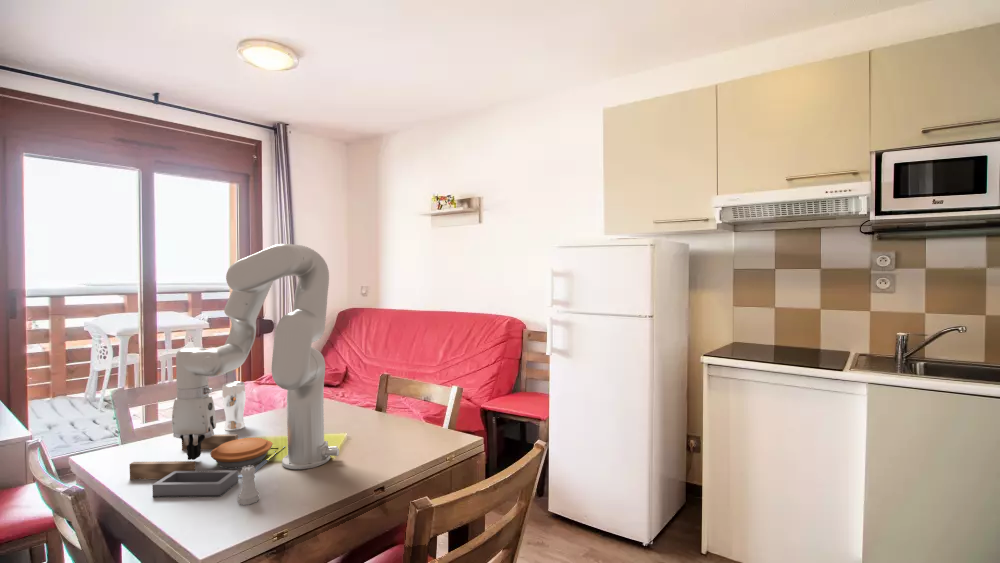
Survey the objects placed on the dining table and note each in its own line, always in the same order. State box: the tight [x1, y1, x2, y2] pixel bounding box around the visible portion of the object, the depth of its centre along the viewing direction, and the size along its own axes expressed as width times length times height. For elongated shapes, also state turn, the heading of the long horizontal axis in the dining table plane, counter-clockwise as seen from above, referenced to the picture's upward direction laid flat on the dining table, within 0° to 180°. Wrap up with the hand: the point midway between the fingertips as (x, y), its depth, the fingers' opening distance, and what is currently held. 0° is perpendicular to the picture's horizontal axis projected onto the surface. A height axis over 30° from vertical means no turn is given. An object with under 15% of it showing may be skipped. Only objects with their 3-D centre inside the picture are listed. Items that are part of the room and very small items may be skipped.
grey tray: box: [151, 469, 239, 498], centre depth 123 cm, size 16×8×3 cm, turn 90°
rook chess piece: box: [237, 464, 260, 506], centre depth 116 cm, size 4×4×8 cm
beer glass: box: [221, 381, 247, 432], centre depth 170 cm, size 7×7×15 cm
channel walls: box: [129, 433, 239, 480], centre depth 140 cm, size 16×22×4 cm
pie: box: [209, 437, 274, 470], centre depth 141 cm, size 15×16×5 cm
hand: (194, 457), depth 140 cm, fingers closed
